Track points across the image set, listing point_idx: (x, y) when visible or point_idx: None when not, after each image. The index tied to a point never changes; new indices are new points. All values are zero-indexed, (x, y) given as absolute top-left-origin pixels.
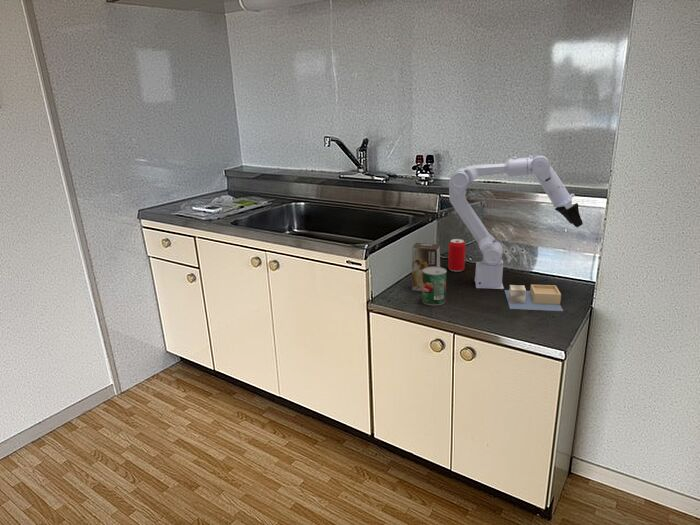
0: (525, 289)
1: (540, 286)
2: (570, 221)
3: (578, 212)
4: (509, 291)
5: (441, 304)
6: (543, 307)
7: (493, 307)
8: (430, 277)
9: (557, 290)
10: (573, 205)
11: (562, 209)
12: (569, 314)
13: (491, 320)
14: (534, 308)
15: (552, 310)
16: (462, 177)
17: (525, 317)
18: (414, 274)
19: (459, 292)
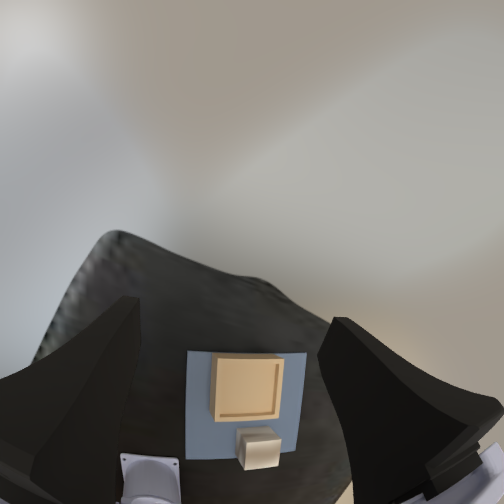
0: (275, 440)
1: (219, 398)
2: (137, 356)
3: (429, 379)
4: (240, 461)
5: None
6: (289, 391)
7: (278, 473)
8: None
9: (256, 362)
10: (464, 448)
11: (104, 481)
12: (311, 340)
13: (330, 467)
14: (294, 409)
15: (304, 375)
16: None
17: (323, 422)
18: None
19: None
